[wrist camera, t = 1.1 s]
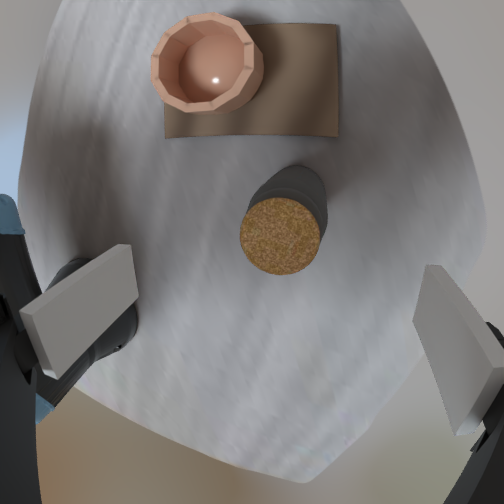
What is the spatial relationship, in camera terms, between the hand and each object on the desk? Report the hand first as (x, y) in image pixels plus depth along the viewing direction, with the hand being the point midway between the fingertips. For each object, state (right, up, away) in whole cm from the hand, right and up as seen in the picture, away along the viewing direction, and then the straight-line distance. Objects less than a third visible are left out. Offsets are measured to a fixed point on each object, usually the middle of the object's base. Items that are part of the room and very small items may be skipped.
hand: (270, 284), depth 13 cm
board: (-1, +19, +15) cm, 24 cm away
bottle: (+4, +7, +19) cm, 21 cm away
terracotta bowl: (-4, +20, +15) cm, 25 cm away
